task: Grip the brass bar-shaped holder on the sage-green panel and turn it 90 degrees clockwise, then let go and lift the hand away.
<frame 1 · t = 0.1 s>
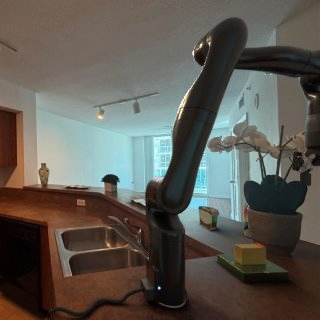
food container: (210, 227, 103), on the counter
holder: (250, 253, 64), point 6 cm above the counter, hinge at 0.0°
holder base: (250, 271, 64), on the counter
lotion bottle: (251, 236, 91), on the counter
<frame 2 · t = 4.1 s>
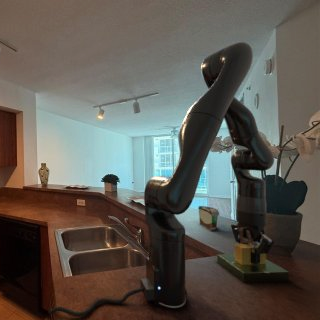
hand: (250, 260, 64), 4 cm above the counter, tool pointing down, fingers closed on holder, 3 cm apart
holder: (250, 253, 64), point 6 cm above the counter, hinge at 0.0°, touching gripper
everything else where it was.
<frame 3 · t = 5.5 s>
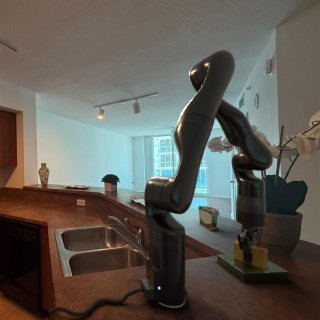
hand: (249, 260, 64), 4 cm above the counter, tool pointing down, fingers closed on holder, 3 cm apart
holder: (250, 253, 64), point 6 cm above the counter, hinge at -60.0°, touching gripper
everything else where it was.
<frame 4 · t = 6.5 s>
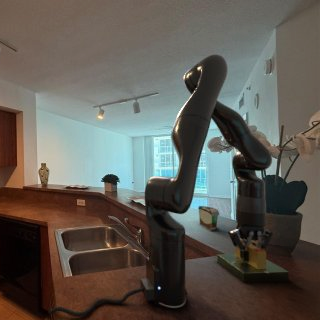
hand: (249, 260, 64), 4 cm above the counter, tool pointing down, fingers closed on holder, 3 cm apart
holder: (250, 253, 64), point 6 cm above the counter, hinge at -89.5°, touching gripper
everything else where it was.
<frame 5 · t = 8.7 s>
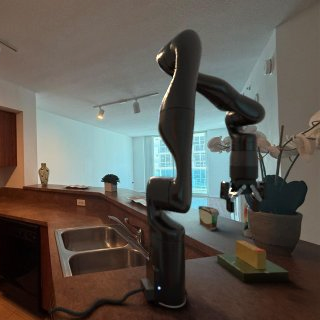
hand: (243, 212, 66), 19 cm above the counter, tool pointing down, fingers open, 8 cm apart
holder: (250, 253, 64), point 6 cm above the counter, hinge at -89.7°
everything else where it was.
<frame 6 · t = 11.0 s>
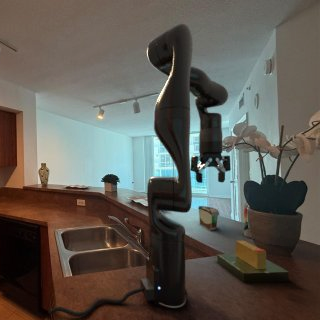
hand: (210, 182, 75), 28 cm above the counter, tool pointing down, fingers open, 8 cm apart
nothing on the counter moved.
at the end: holder at -90° (first picture: +0°); the gripper is holding nothing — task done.
